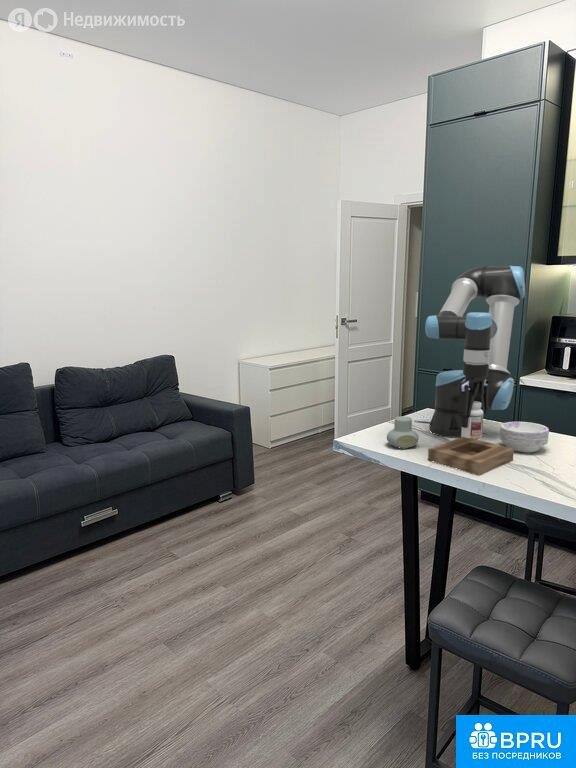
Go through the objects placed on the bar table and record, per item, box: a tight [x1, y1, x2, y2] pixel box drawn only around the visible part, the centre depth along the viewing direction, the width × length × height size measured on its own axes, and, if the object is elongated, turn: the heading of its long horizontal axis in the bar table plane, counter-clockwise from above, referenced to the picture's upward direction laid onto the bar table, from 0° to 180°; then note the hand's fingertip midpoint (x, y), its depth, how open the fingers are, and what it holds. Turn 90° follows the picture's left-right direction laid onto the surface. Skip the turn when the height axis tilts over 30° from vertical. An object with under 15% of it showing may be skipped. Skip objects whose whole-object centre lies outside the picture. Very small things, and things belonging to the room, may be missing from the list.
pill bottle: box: [470, 401, 484, 440], centre depth 173 cm, size 6×6×11 cm
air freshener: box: [386, 415, 420, 449], centre depth 190 cm, size 11×8×10 cm
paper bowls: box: [499, 421, 550, 453], centre depth 186 cm, size 15×15×8 cm
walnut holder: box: [427, 437, 515, 476], centre depth 175 cm, size 18×20×4 cm
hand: (471, 435), depth 173 cm, fingers closed on pill bottle, 6 cm apart
